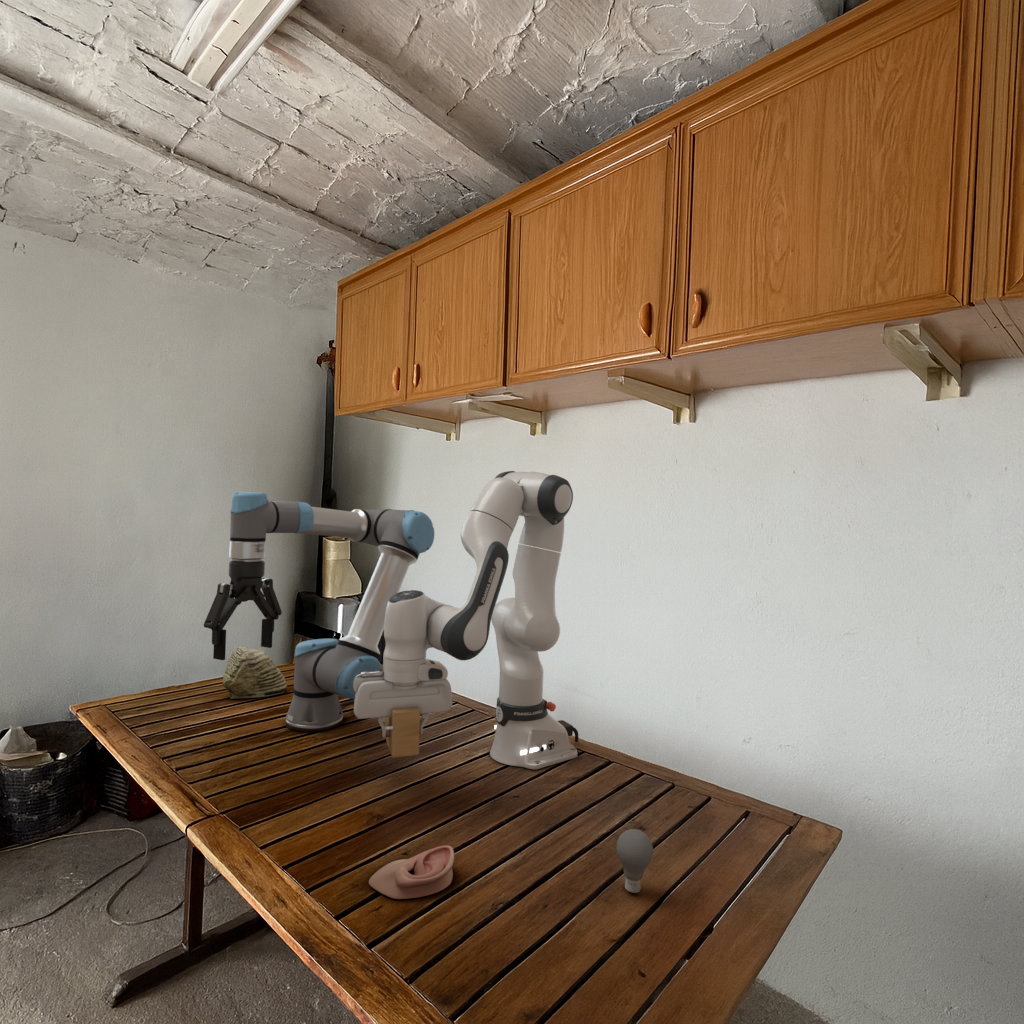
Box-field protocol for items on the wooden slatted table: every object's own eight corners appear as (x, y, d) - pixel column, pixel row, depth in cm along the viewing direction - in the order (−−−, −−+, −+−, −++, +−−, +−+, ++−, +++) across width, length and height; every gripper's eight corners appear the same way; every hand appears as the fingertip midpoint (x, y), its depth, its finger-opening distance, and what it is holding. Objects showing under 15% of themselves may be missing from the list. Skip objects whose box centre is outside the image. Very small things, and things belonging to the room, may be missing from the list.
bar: (377, 718, 149) (378, 680, 149) (400, 716, 151) (402, 678, 151) (392, 757, 127) (393, 712, 127) (418, 754, 129) (420, 710, 129)
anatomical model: (361, 868, 102) (389, 832, 113) (360, 893, 102) (388, 854, 113) (440, 882, 99) (460, 843, 110) (439, 907, 99) (459, 866, 110)
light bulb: (610, 879, 108) (613, 822, 108) (644, 879, 109) (647, 822, 109) (619, 902, 102) (622, 840, 102) (655, 901, 103) (658, 840, 103)
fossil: (218, 695, 195) (220, 647, 195) (278, 685, 208) (279, 640, 207) (228, 703, 189) (230, 653, 188) (289, 692, 201) (290, 645, 201)
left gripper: (213, 565, 131) (209, 667, 131) (299, 557, 154) (295, 644, 154) (187, 562, 134) (184, 662, 134) (275, 555, 157) (272, 640, 157)
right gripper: (354, 676, 126) (353, 745, 126) (455, 670, 132) (453, 735, 133) (352, 668, 132) (350, 734, 132) (448, 662, 138) (446, 725, 139)
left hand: (243, 652), depth 144 cm, fingers open, 13 cm apart
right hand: (402, 735), depth 132 cm, fingers closed on bar, 5 cm apart
